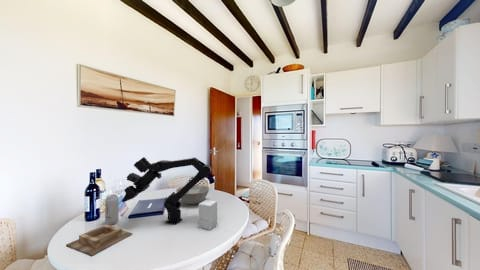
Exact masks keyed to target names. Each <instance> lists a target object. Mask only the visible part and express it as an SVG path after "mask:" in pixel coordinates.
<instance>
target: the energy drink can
mask: <svg viewBox="0 0 480 270" xmlns="http://www.w3.org/2000/svg"><path fill="white" fill-rule="evenodd" d="M104 203H105V204H104V205H105V207H104V211H105V213H104V217H105V218H104V219H105V221H104V222H105V225H110V226H113V225H116V224H118V221H119V196H118V194H115V193H114V194H109V195H107V196H106V198H105V200H104Z"/></svg>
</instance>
